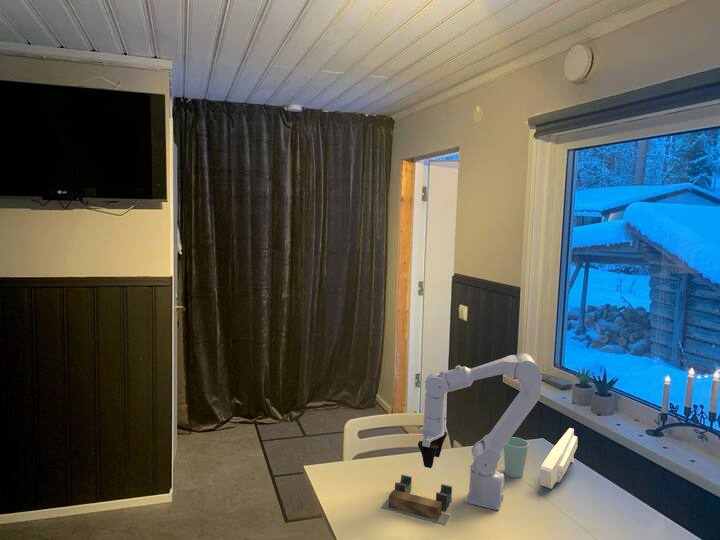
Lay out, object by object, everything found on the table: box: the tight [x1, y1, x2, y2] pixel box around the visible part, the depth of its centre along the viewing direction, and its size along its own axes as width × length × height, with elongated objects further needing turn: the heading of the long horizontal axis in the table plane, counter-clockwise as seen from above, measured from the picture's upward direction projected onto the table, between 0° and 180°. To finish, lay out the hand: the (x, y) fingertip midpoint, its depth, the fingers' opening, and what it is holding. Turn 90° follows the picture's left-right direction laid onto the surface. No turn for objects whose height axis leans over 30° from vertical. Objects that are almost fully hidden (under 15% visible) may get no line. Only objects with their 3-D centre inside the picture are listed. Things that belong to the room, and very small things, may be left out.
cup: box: [503, 436, 530, 478], centre depth 171 cm, size 8×8×10 cm
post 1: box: [394, 474, 413, 494], centre depth 155 cm, size 3×6×4 cm, turn 156°
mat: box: [380, 498, 451, 526], centre depth 147 cm, size 18×5×1 cm, turn 66°
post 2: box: [435, 483, 453, 513], centre depth 150 cm, size 3×6×4 cm, turn 156°
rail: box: [388, 489, 443, 521], centre depth 146 cm, size 14×4×4 cm, turn 66°
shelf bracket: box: [539, 427, 579, 489], centre depth 170 cm, size 6×25×13 cm, turn 142°
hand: (431, 461), depth 155 cm, fingers open, 7 cm apart
